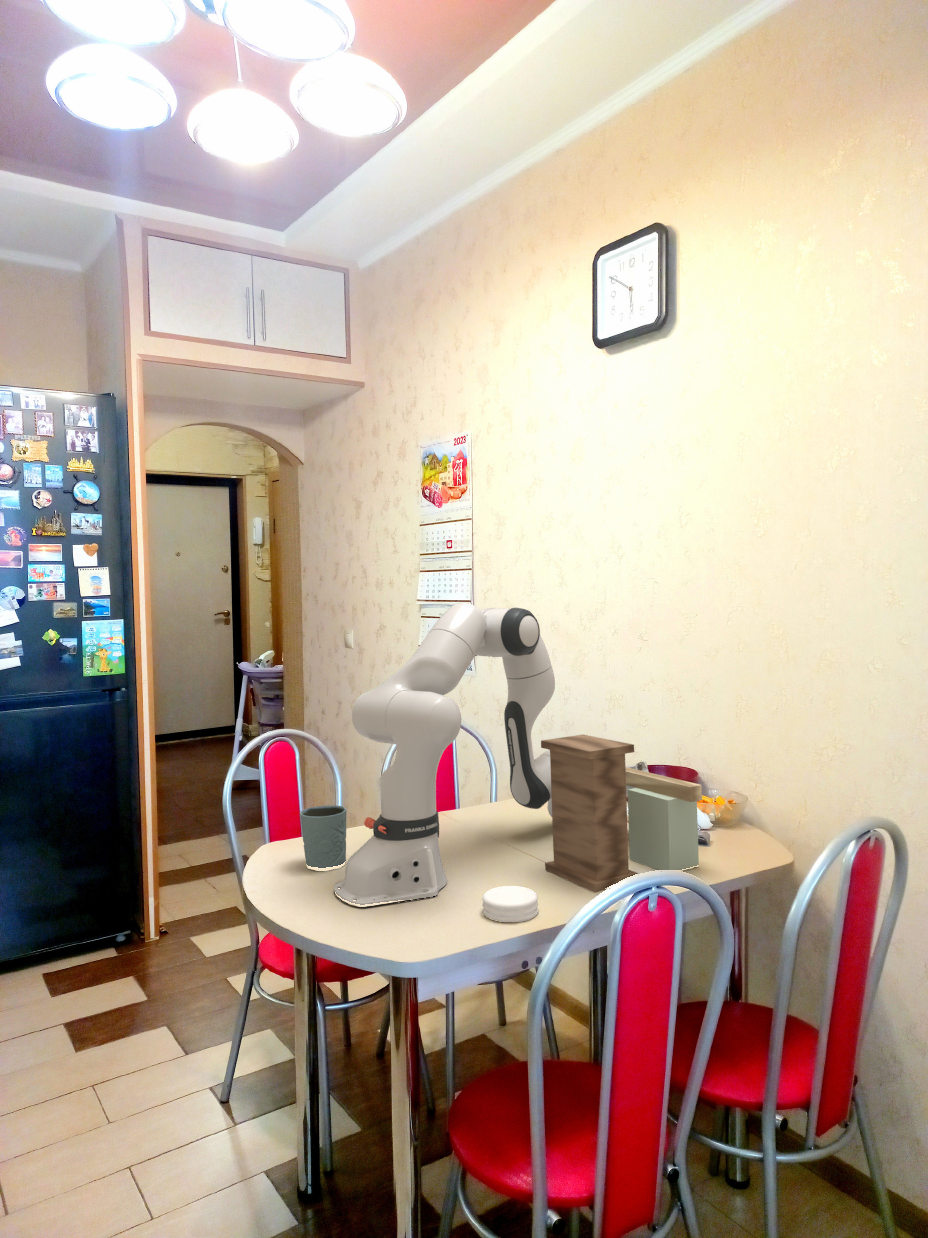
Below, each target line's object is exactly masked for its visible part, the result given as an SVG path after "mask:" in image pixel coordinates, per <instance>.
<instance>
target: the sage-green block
mask: <svg viewBox="0 0 928 1238" xmlns="http://www.w3.org/2000/svg"><path fill="white" fill-rule="evenodd" d="M627 821H628V852H629V860H631V861H633V862H636V863H638V864H641V865H644V866H647V867H649V868H651V869H654V870H657V871H659V870H682V869H686V868H690V867H693V866H697V865H700V864H699V863H700V862H699V860H700V859H699V856H700V855H699V831H698V830H699V829H698V827H699V825H698V822H699V821H698V801H695V802H688V801H685V800H681V799H677V798H673V797H669V796H666V795H662V794H658V793H654V792H651V791H647V790H643V789H639V788H633V789H628V796H627ZM684 871H685V872H686V870H684ZM684 871H683V872H684Z"/></svg>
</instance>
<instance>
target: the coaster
mask: <svg viewBox="0 0 928 1238" xmlns="http://www.w3.org/2000/svg"><path fill="white" fill-rule="evenodd" d="M538 898H539V897H538V894H537V893H536V892H535V891H534V890H533V889H531V888H528V887H525V886H519V885H502V886H496V887H493V888H490V889H488V890H487V891H486V892H485V893H483V894H482V898H481V899H482V900H481V901H482V905H481V906H482V908H483V909H482V913H483V916H484V915H485V916H486V917H485V916H484V917H485V918H487V917H488V918H491V919H493V920H497V921H501V922H518V923H523V921H524V922H527V921H530V920H532V919H534V918H535V917H536V916H537V915H538V913H539V908H538V906H539V903H538V900H539V899H538ZM488 918H487V919H488ZM501 922H500V923H501Z"/></svg>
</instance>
